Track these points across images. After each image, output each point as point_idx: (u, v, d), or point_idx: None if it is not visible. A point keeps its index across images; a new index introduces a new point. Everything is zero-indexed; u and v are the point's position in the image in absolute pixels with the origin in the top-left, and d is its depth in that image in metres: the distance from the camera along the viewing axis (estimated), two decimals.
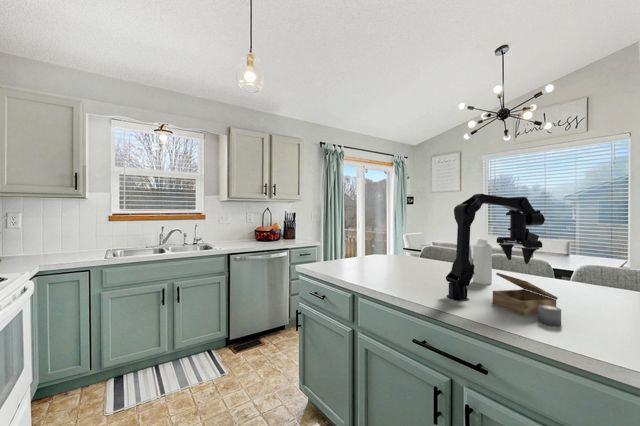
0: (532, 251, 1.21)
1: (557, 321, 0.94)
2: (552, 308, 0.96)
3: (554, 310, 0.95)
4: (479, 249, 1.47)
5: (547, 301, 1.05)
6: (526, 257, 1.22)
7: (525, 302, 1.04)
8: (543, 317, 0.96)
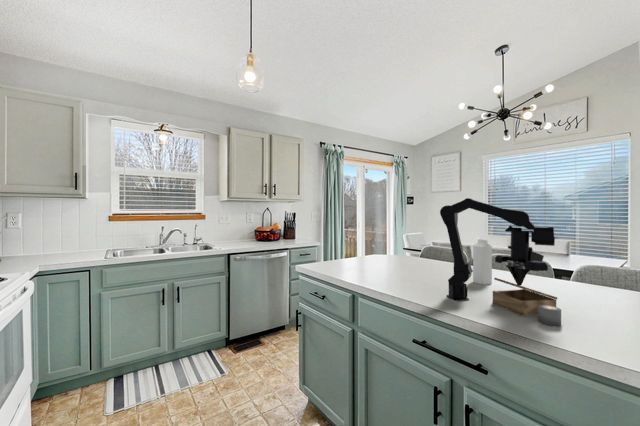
0: (526, 271, 1.09)
1: (557, 321, 0.94)
2: (552, 308, 0.96)
3: (553, 310, 0.95)
4: (479, 249, 1.47)
5: (547, 301, 1.05)
6: (519, 278, 1.10)
7: (525, 302, 1.04)
8: (543, 317, 0.96)
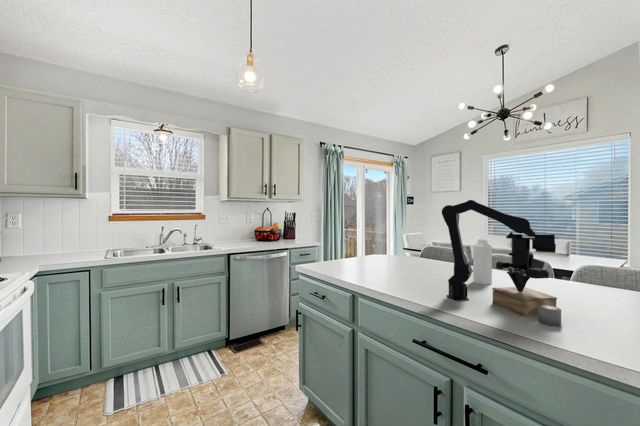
0: (526, 278, 1.09)
1: (557, 321, 0.94)
2: (552, 308, 0.96)
3: (553, 310, 0.95)
4: (479, 249, 1.47)
5: (547, 301, 1.05)
6: (520, 285, 1.10)
7: (525, 302, 1.04)
8: (543, 317, 0.96)
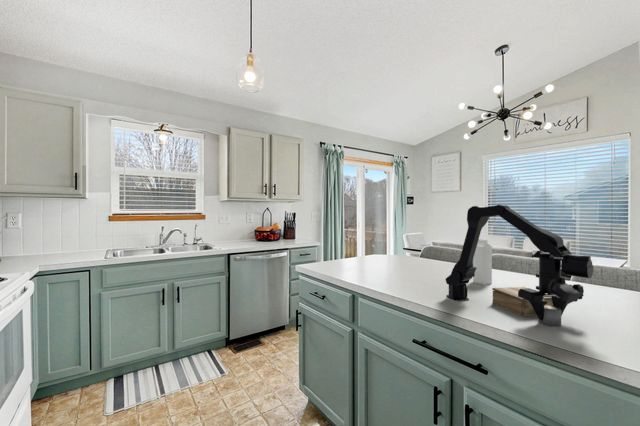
0: (539, 305, 0.95)
1: (557, 321, 0.94)
2: (552, 308, 0.96)
3: (554, 310, 0.95)
4: (479, 249, 1.47)
5: (547, 301, 1.05)
6: (535, 310, 0.97)
7: (525, 302, 1.04)
8: None
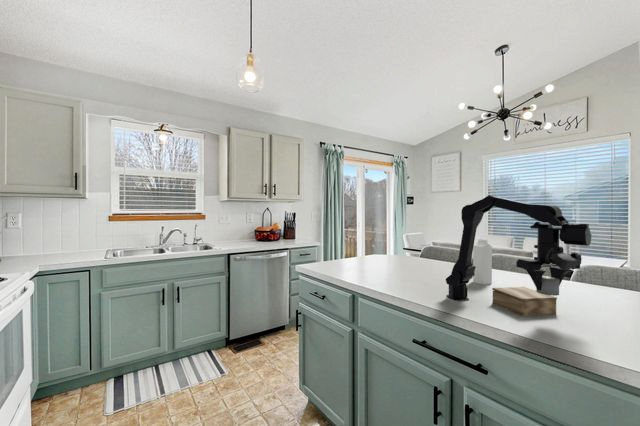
0: (537, 274, 0.96)
1: (555, 290, 0.95)
2: (550, 278, 0.97)
3: (552, 279, 0.96)
4: (479, 249, 1.47)
5: (547, 301, 1.05)
6: (533, 280, 0.98)
7: (525, 302, 1.04)
8: (541, 287, 0.97)
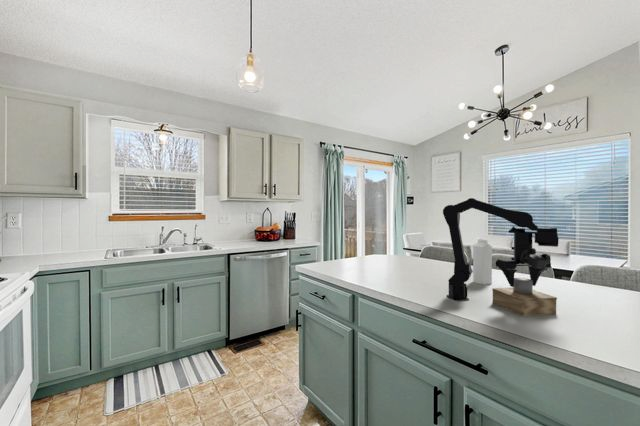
0: (509, 273, 1.09)
1: (528, 290, 1.08)
2: (525, 279, 1.11)
3: (526, 280, 1.09)
4: (479, 249, 1.47)
5: (547, 301, 1.05)
6: (507, 278, 1.11)
7: (525, 302, 1.04)
8: (517, 287, 1.10)
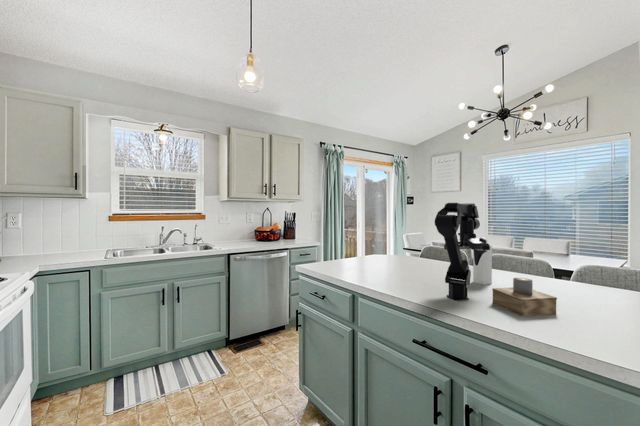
0: None
1: (528, 290, 1.08)
2: (525, 279, 1.11)
3: (526, 280, 1.09)
4: None
5: (547, 301, 1.05)
6: None
7: (525, 302, 1.04)
8: (517, 287, 1.10)
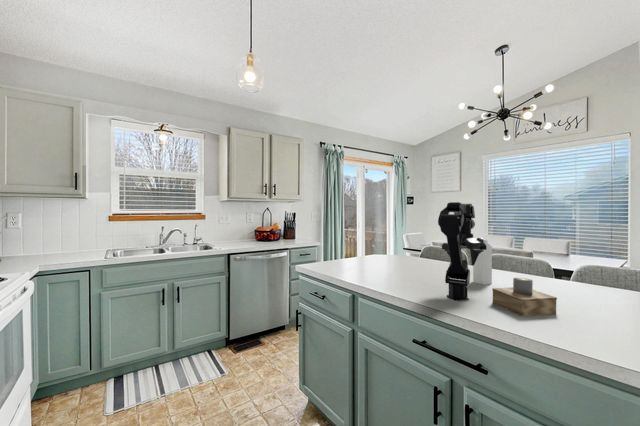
0: None
1: (529, 290, 1.08)
2: (525, 279, 1.11)
3: (526, 280, 1.09)
4: None
5: (547, 301, 1.05)
6: None
7: (525, 302, 1.04)
8: (517, 287, 1.10)
